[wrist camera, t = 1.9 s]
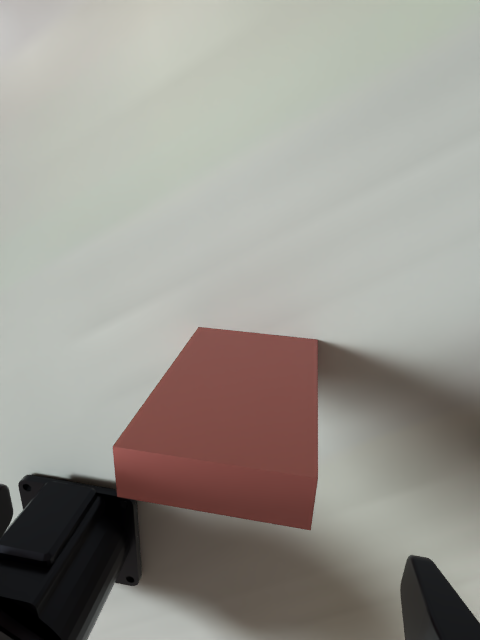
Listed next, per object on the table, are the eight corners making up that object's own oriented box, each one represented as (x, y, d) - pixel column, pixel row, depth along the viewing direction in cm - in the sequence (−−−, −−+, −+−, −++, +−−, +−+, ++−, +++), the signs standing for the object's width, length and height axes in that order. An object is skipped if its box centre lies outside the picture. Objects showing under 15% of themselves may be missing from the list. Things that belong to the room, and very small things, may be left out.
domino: (313, 374, 17) (310, 530, 10) (198, 360, 18) (117, 496, 11) (317, 339, 17) (317, 478, 9) (198, 327, 18) (112, 446, 10)
